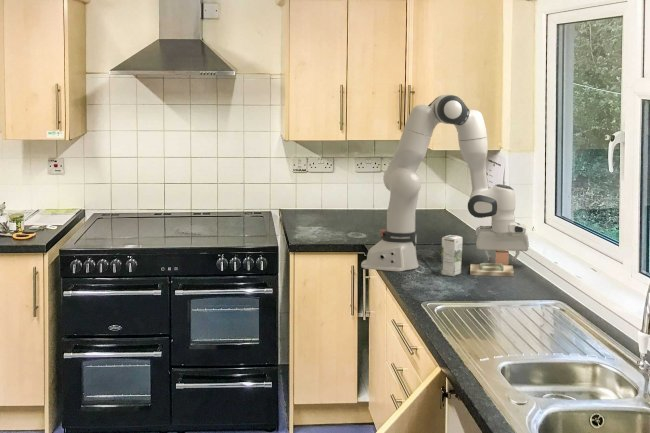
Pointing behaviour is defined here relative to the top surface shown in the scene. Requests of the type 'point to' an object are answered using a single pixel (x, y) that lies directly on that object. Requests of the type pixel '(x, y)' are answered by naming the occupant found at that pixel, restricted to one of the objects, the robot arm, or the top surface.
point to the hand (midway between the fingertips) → (501, 261)
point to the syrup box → (451, 255)
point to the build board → (491, 269)
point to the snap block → (502, 257)
